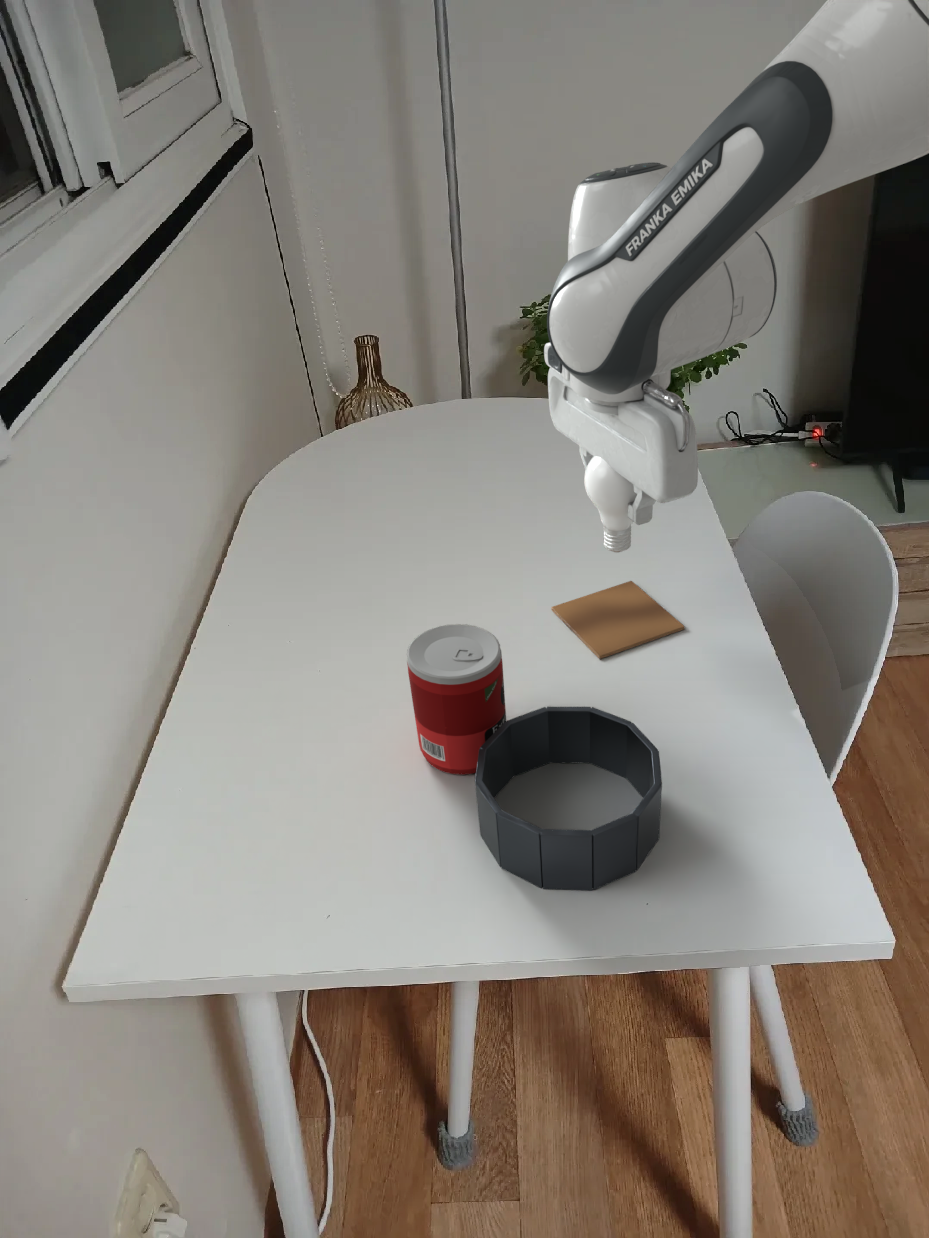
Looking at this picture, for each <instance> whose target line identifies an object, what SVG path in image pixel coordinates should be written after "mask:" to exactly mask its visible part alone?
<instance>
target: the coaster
mask: <svg viewBox="0 0 929 1238" xmlns="http://www.w3.org/2000/svg"><path fill="white" fill-rule="evenodd" d="M550 610H551V611H552V612H553V613H554V614H555V616H557V618H559V619H560V620H561V622H563V624H564V625H565V626H566V627H567V628H568V629H569V630H570V631H571V632H572V633H573V634H574V635H575V636H576V637H577V638H578V639H579V640H580V641H581V642H582V643H583V644H584V645H585V646H586V647H587V648H588V649H589V650H590V651H591V652H592V653H593V654H594V656H595V657H597V658H598V660H601V659H604V658H607V657H610V656H613V655H616V654H618V653H621V652H625V651H627V650H630V649H633V648H635V647H638V646H641V645H644V644H647V643H650V642H652V641H655V640H658V639H660V638H664V637H666V636H669V635H672V634H675V633H678V632H681V631H683V630H685V625H683V623H681V622H680V621H679V620H678V619H677V618H675V616H673V615H672V614H671V613H669V611H667V610H666V609H665V608H664V607H663V606H662V605H660V603H658V602H657V601H656V600H654V599H653V598H652V597H651V596H650V595H649V594H648V593H646V592H645V591H644V590H643V589H642V588H640V586H638V585H637V584H636V583H635V582H634V581H633V580H629V581H625V582H622V583H621V584H620V583H619V584H617V585H613V586H610V587H608V588H605V589H602V590H599V591H596V592H593V593H590V594H586V595H583V596H580V597H578V598H574V599H571V600H569V601H566V602H562V603H560V604H557V605H556V604H555V605H553V606H551V607H550Z"/></svg>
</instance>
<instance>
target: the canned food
mask: <svg viewBox="0 0 929 1238" xmlns="http://www.w3.org/2000/svg"><path fill="white" fill-rule="evenodd" d="M406 664H407V673H408V680H409V687H410V693H411V699H412V707H413V713H414V719H415V726H416V727H415V728H416V733H417V739H418V747H419V750H420V752H421V754H422V755H423V757H424V759H425V760H426V762H427V763H428V764H429V765H430V766H431V767H432V768H434V769H436V770H438V771H441V772H443V773H447V774H450V775H472V774H476V768H477V761H478V753H479V749H480V747H481V746H482V745H483V744H484V743H485V742H486V741H487V740H488V739H489V738H490V737H491V736H492V735H493V734H494V733H495V732H496V731H497V729H498V728H499V727H500V726H501V725H502V724H503V723H504V722H506V721H507V712H506V711H507V710H506V697H505V695H506V694H505V680H504V679H505V678H504V667H503V656H502V649H501V643H500V642H499V639H498V638H497V637H496V636H495V635H494V633H492V632H491V631H489V630H487V629H484V628H483V627H479V626H476V625H472V624H467V623H466V624H464V623H451V624H445V625H439V626H436V627H432V628H429V629H428V630H425V631H423V632H421V633H420V634H418V635H416V637H415V638H413V640H412V641H411V642H410V643H409V645H408V647H407V650H406Z"/></svg>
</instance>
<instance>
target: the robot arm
mask: <svg viewBox="0 0 929 1238" xmlns="http://www.w3.org/2000/svg"><path fill="white" fill-rule="evenodd" d="M928 154H929V0H826V1H825V2H824V3H823V4H822V6H821V7H820V8H819V9H818V10H817V11H816V13H815V14H814V15H813V16H812V17H811V18H810V20H809V21H808V22H807V23H806V24H805V25H804V26H803V27H802V29H801V30H800V31H799V32H798V33H797V34H796V35H795V36H794V37H793V38H792V40H791V41H790V42H789V43H788V44H786V46H785V47H784V48H783V49H782V50H781V51H780V52H779V53H778V54H777V55H776V56H775V57H774V58H773V59H772V60H771V61H770V62H769V64H767V66H766V67H764V69H763V70H762V71H761V72H759V74H758V75H757V76H756V77H754V79H753V80H752V81H751V82H750V83H749V84H748V85H747V86H746V87H745V88H744V90H742V91H741V92H740V93H739V95H737V97H735V98H734V100H732V102H731V103H729V105H728V106H726V107H725V109H723V110H722V111H721V113H720V114H719V115H718V116H716V117H715V119H714V120H713V121H712V122H711V123H710V124H709V125H708V127H706V129H705V130H703V132H702V133H701V134H700V135H699V136H698V138H697V139H695V141H694V142H693V143H692V144H691V145H690V147H688V149H687V150H686V151H685V152H684V153H683V155H681V157H680V158H679V159H678V160H677V161H676V163H674V164H673V166H672V167H670V166H668V165H666V164H662V163H661V162H641V163H635V164H629V165H628V166H623V167H616V168H612V169H608V170H604V171H600V172H595V173H592V174H590V175H589V176H587V177H585V178H584V179H583V180H582V181H581V182H580V183H579V184H578V185H577V187H576V189H575V192H574V195H573V198H572V203H571V209H570V215H569V222H568V223H569V225H568V237H567V242H568V243H567V262H566V263H565V264H564V265H563V267H562V268H561V270H560V272H559V274H558V276H557V278H556V281H555V282H554V286H553V287H552V290H551V293H550V297H549V302H548V307H547V315H546V331H547V336H548V341H549V342H546V343H545V344H544V347H543V355H544V362H545V364H546V365H547V366H548V367H549V369H548V372H547V373H548V374H547V392H548V393H547V395H548V406H549V414H550V419H551V421H552V424H553V426H554V429H555V430H556V431H558V432H559V433H560V434H562V435H564V437H566V438H568V439H569V440H570V441H572V442H573V443H575V444H576V445H577V446H578V449H579V456H580V458H581V462H582V464H583V467H584V470H585V471H586V468H587V465H588V463H589V462H590V460H591V459H592V458H593V456H599V457H601V458H602V459H604V460H605V461H606V462H607V463H608V465H609V466H610V467H611V468H612V469H613V470H614V471H615V472H617V473H618V474H619V475H621V476H622V477H624V478H625V479H626V480H628V481H629V482H631V483H632V484H634V492H635V493H636V494H637V496H636V499H635V501H633V502H630V503H628V518H629V519H631V520H632V521H633V523H634V524H635V525H637V526H640V525H644V524H647V523H650V522H651V521H652V519H653V509H654V507H653V506H654V505H655V503H656V502H658V503H660V504H666V503H671V502H675V501H678V500H680V499H684V498H686V497H689V496H691V495H692V494H693V493H694V491H695V490H696V489H697V487H698V483H699V482H698V481H699V456H698V455H699V454H698V453H699V452H698V438H697V437H698V436H697V430H696V429H697V428H696V424H695V421H694V419H693V417H692V415H691V414H690V413H689V411H688V410H687V409H686V407H685V406H684V404H683V399H682V397H680V396H679V395H678V394H676V393H675V392H672V391H669V390H667V389H668V387H669V386H670V384H671V373H672V370H674V369H676V368H679V367H682V366H684V365H687V364H690V363H692V362H695V361H698V360H701V359H703V358H706V357H708V356H710V355H713V354H715V353H718V352H721V351H723V350H726V349H729V348H731V347H733V346H736V345H739V344H740V343H742V342H744V341H746V340H747V339H749V338H751V337H754V336H755V335H757V334H759V332H760V331H761V330H762V329H763V328H764V326H766V324H767V322H768V321H769V318H770V316H771V315H772V312H773V309H774V306H775V301H776V297H777V291H778V290H777V289H778V276H777V268H776V263H775V260H774V256H773V253H772V251H771V249H770V247H769V246H768V244H767V242H766V240H765V239H764V238H763V237H762V235H761V234H760V233H759V232H758V231H759V229H761V228H762V227H764V226H765V225H767V224H768V223H770V222H771V221H772V220H775V219H776V218H777V217H779V216H781V215H782V214H784V213H786V212H788V211H790V210H792V209H793V208H796V207H797V206H799V205H801V204H804V203H806V202H808V201H810V200H813V199H814V198H817V197H819V196H821V195H824V194H826V193H829V192H831V191H833V190H836V189H839V188H842V187H843V186H846V185H849V184H853V183H854V182H857V181H860V180H862V179H865V178H868V177H871V176H874V175H876V174H879V173H882V172H885V171H887V170H890V169H894V168H896V167H898V166H901V165H903V164H907V163H910V162H912V161H915V160H916V159H919V158H922V157H924V156H926V155H928ZM585 471H584V472H585Z"/></svg>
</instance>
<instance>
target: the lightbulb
mask: <svg viewBox="0 0 929 1238" xmlns="http://www.w3.org/2000/svg"><path fill="white" fill-rule="evenodd" d="M583 477H584V478H583V479H584V480H583V482H584V484H583V485H584V490H585V492H586V495H587V497H588V498H589V500H590V501H591V503H592V504H593V506H595V508H596V509H597V511H598V514H599V519H600V521H601V523H602V525H603V544H602V545H603V547H604V548H605V549H606V550H607V551H610V552H613V553H622V552H625V551H627V550H628V549H630V548H631V546H632V525H633V523H634V522H633V521H632V520H631V519H629V518H628V503H630V502H633V501H635V499H636V496H637V494H636V493H635V492H634V484H632V483H631V482H629V481H628V480H626V479H625V478H624V477H622V476H621V475H619V474H618V473H617V472H615V471H614V470H613V469H612V468H611V467H610V466H609V465H608V463H607V462H606V461H605V460H604V459H602V458H601V457H599V456H593V458H592V459H591V460H590V462H589V463H588V465H587V468H586V471H584V476H583Z"/></svg>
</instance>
